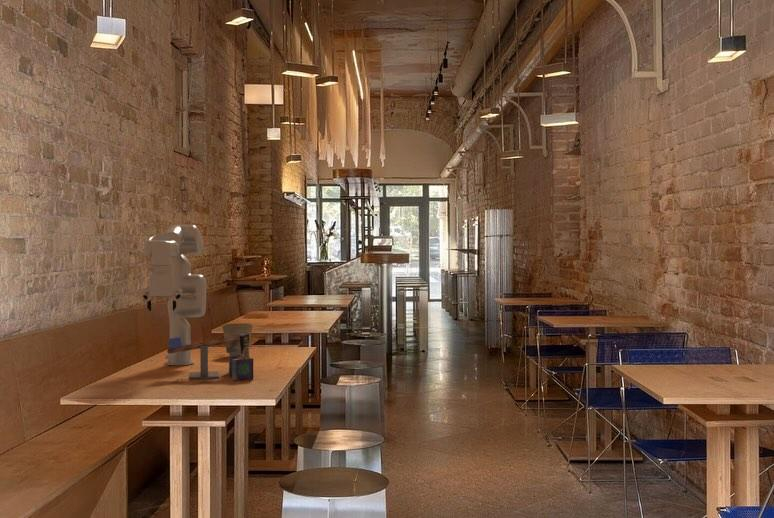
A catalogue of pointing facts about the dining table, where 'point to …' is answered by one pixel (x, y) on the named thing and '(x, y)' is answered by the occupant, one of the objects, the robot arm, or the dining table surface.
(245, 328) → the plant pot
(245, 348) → the coffee box
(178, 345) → the blue block
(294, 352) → the dining table surface
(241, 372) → the flask
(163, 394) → the dining table surface
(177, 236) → the robot arm
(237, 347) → the beam
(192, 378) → the stand
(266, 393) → the dining table surface
